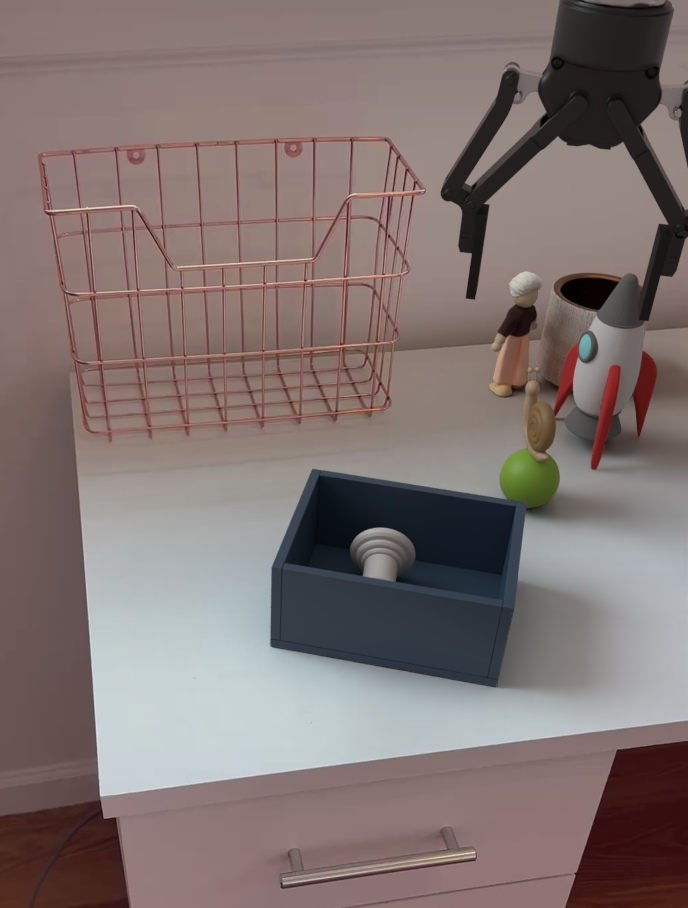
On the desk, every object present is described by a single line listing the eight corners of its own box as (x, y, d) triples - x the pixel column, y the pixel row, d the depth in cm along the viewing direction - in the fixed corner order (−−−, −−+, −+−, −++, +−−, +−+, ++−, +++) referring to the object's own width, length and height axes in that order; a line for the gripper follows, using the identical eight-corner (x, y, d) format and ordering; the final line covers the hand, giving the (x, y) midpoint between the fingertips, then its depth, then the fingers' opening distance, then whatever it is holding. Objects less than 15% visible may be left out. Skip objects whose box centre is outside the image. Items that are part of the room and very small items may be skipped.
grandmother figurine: (511, 404, 110) (533, 289, 101) (478, 394, 111) (497, 280, 102) (537, 376, 115) (560, 264, 106) (505, 367, 116) (525, 255, 108)
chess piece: (408, 577, 86) (399, 659, 80) (346, 565, 86) (332, 646, 80) (422, 531, 82) (413, 614, 76) (356, 519, 82) (342, 600, 76)
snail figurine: (537, 478, 99) (562, 364, 91) (562, 517, 95) (591, 399, 87) (483, 483, 98) (504, 367, 90) (506, 522, 94) (530, 404, 85)
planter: (543, 396, 111) (561, 312, 105) (527, 350, 119) (543, 269, 113) (642, 400, 112) (666, 316, 105) (620, 354, 120) (641, 273, 113)
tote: (510, 578, 87) (526, 502, 82) (496, 687, 77) (514, 608, 72) (308, 544, 90) (312, 468, 84) (269, 646, 80) (271, 567, 74)
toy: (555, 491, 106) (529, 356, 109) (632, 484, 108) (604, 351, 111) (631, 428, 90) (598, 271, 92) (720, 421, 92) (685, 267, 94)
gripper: (424, -13, 67) (395, 302, 81) (823, 23, 64) (720, 343, 78) (437, -33, 72) (408, 266, 86) (805, -1, 69) (712, 302, 83)
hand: (556, 303), depth 82 cm, fingers open, 13 cm apart
